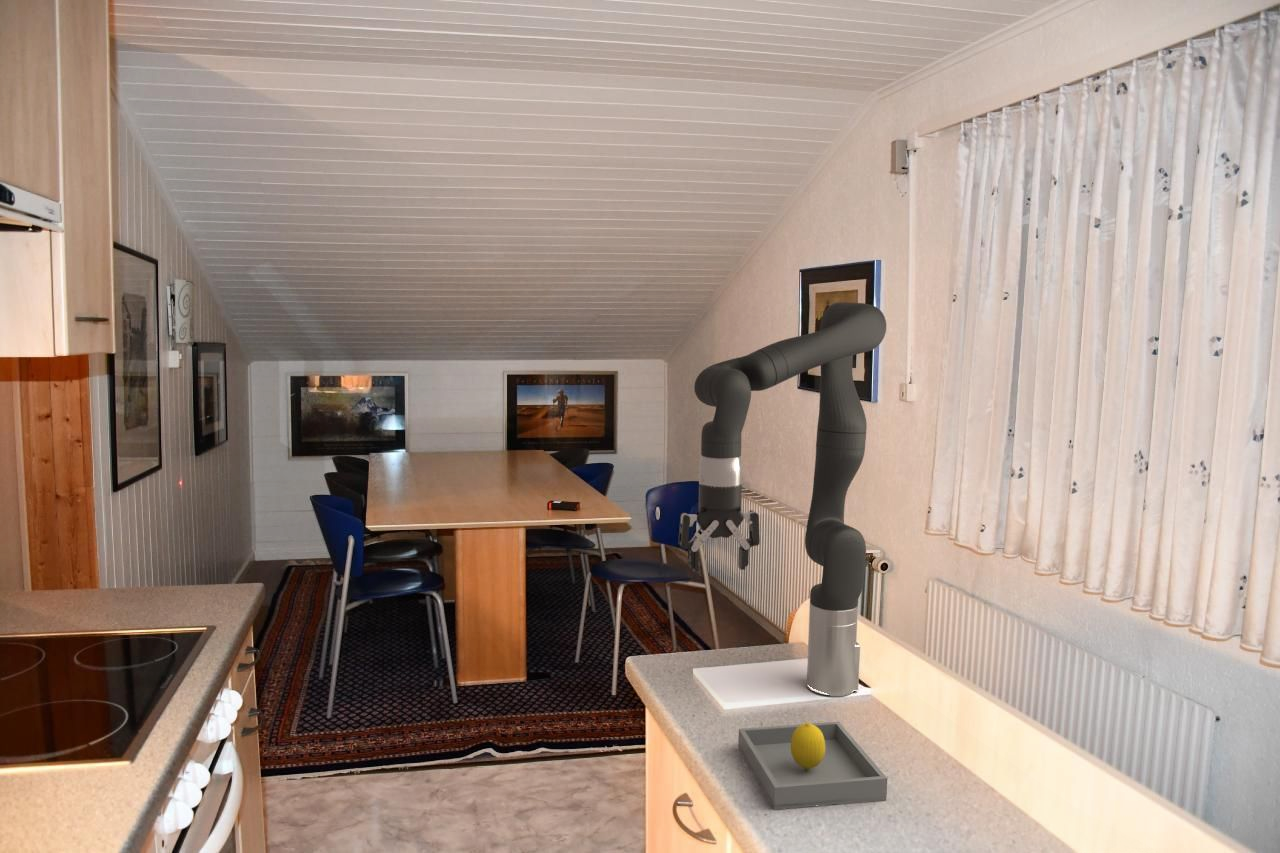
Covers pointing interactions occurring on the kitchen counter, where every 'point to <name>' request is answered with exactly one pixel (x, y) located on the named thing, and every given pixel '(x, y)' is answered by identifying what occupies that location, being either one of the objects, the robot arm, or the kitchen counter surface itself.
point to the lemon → (807, 746)
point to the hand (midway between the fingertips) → (718, 569)
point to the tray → (830, 782)
